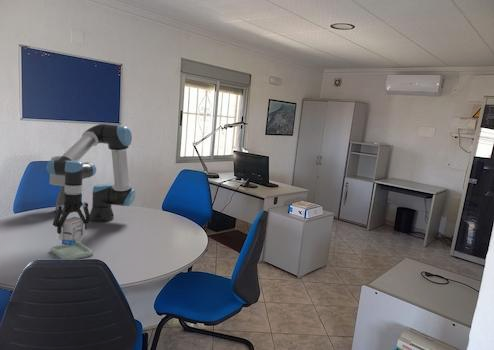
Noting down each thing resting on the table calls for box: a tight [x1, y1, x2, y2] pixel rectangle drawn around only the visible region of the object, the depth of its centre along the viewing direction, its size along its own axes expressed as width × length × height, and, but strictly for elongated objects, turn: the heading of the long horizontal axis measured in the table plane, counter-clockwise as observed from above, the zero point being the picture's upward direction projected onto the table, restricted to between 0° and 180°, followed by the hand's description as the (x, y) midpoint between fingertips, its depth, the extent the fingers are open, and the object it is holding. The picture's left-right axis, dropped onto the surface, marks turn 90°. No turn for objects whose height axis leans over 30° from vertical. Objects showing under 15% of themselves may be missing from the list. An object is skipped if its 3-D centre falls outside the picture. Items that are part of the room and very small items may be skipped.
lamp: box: [48, 155, 65, 214], centre depth 229 cm, size 19×19×37 cm
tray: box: [50, 241, 94, 260], centre depth 166 cm, size 13×16×2 cm
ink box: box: [61, 216, 83, 245], centre depth 164 cm, size 9×5×12 cm, turn 168°
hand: (72, 237), depth 165 cm, fingers closed on ink box, 9 cm apart
